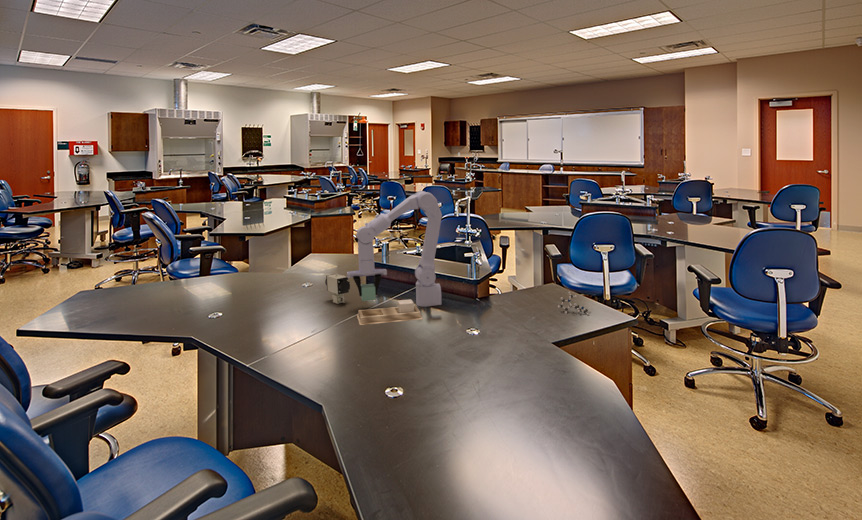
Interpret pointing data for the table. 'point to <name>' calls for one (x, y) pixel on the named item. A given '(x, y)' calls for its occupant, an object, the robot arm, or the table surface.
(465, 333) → the table surface
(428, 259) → the robot arm
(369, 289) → the teal block
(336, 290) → the pneumatic valve
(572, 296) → the molecule model
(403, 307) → the cream block
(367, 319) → the assembly board
